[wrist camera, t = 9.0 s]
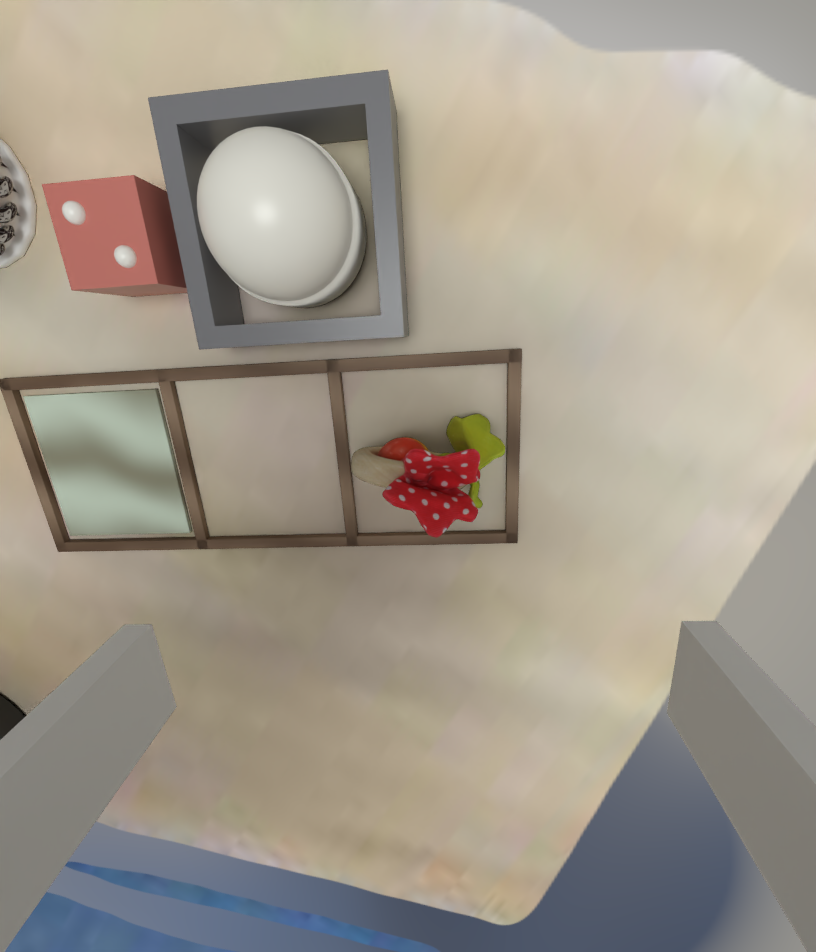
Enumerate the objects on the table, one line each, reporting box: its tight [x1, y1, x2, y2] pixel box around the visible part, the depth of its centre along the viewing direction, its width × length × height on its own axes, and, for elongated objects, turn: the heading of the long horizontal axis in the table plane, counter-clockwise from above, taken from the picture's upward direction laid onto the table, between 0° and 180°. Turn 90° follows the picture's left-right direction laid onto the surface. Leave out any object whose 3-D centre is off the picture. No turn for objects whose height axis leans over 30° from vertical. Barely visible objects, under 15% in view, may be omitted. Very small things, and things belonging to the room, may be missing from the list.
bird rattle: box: [351, 414, 505, 538], centre depth 26 cm, size 6×11×9 cm
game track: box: [0, 349, 522, 552], centre depth 31 cm, size 14×36×1 cm, turn 93°
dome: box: [197, 126, 367, 308], centre depth 22 cm, size 8×8×8 cm
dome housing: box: [42, 70, 409, 349], centre depth 24 cm, size 12×18×6 cm, turn 93°
